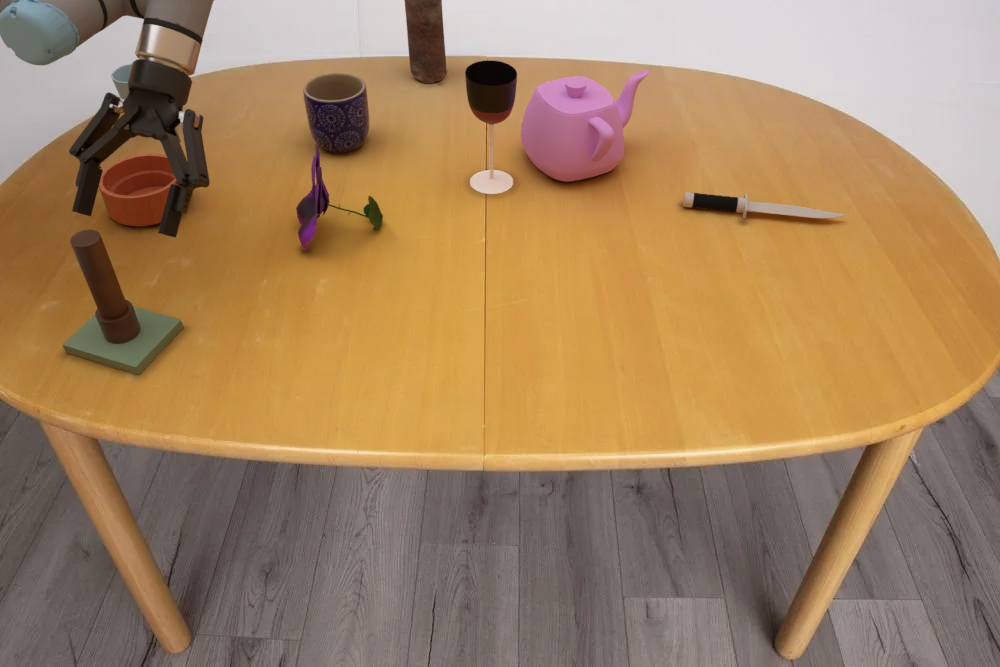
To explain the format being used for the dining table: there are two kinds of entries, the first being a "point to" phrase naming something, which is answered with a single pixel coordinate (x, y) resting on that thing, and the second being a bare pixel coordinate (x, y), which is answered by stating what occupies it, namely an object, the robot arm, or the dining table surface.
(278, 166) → the dining table surface
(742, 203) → the knife
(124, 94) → the cup
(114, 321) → the pestle
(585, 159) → the teapot
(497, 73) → the wineglass
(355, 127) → the planter
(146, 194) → the bowl
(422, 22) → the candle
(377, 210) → the flower
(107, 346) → the board
